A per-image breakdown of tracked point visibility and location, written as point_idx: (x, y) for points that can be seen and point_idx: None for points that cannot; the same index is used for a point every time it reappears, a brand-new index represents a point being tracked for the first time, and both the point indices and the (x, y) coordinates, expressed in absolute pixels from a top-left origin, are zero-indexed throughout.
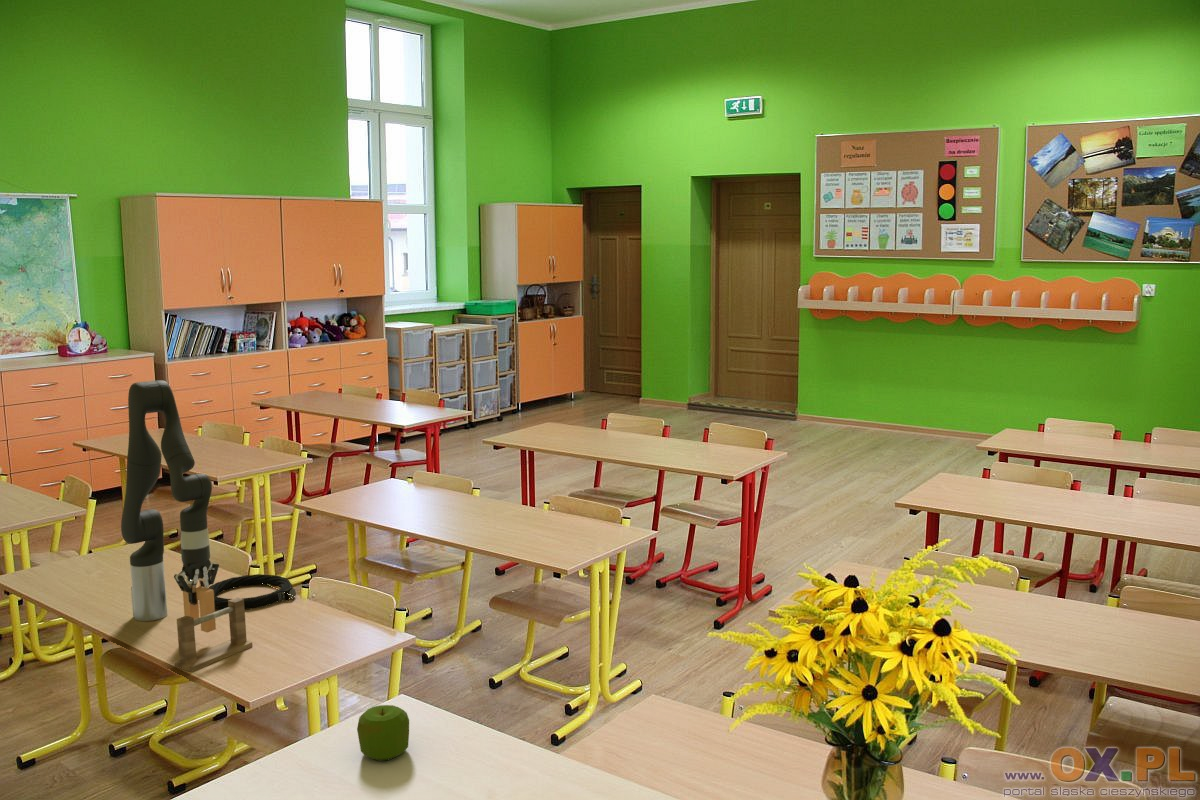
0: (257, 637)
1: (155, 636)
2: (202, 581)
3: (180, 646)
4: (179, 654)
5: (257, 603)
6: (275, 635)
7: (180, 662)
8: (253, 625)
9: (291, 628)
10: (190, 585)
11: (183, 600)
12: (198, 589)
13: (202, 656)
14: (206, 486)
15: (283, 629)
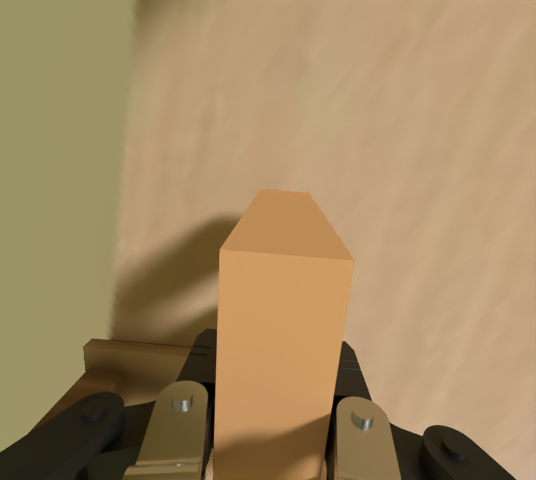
0: (387, 393)
1: (228, 24)
2: (373, 474)
3: None
4: (68, 391)
5: None
6: (424, 429)
7: (87, 372)
8: (482, 305)
9: (497, 434)
10: (185, 454)
11: (245, 212)
12: (237, 478)
13: (160, 390)
14: None
15: (480, 418)
